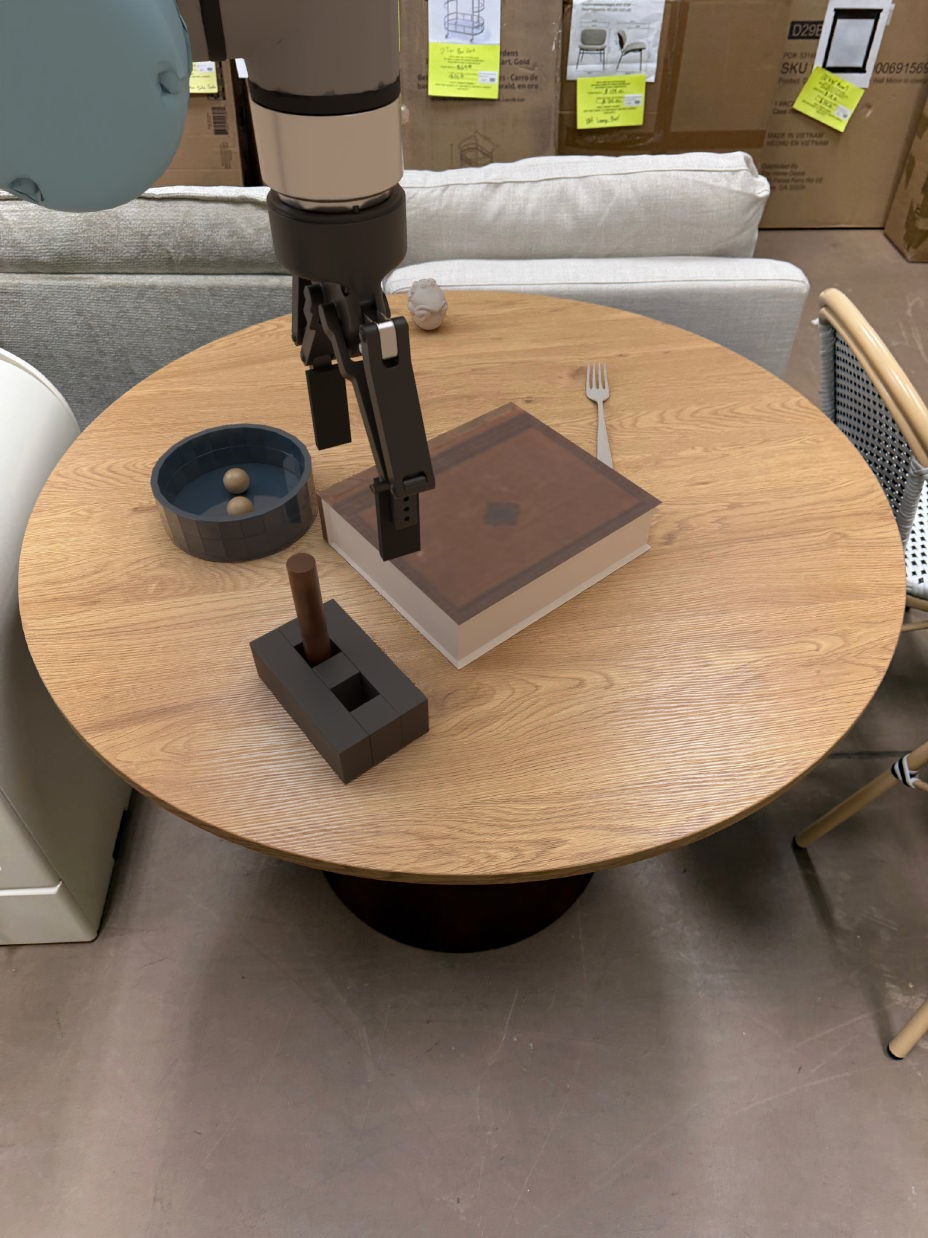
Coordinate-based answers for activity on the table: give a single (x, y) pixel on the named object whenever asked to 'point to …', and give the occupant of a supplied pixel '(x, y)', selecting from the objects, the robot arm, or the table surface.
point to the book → (495, 531)
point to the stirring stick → (309, 607)
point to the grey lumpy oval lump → (427, 303)
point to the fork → (600, 413)
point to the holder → (343, 693)
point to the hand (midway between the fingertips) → (364, 495)
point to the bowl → (200, 498)
